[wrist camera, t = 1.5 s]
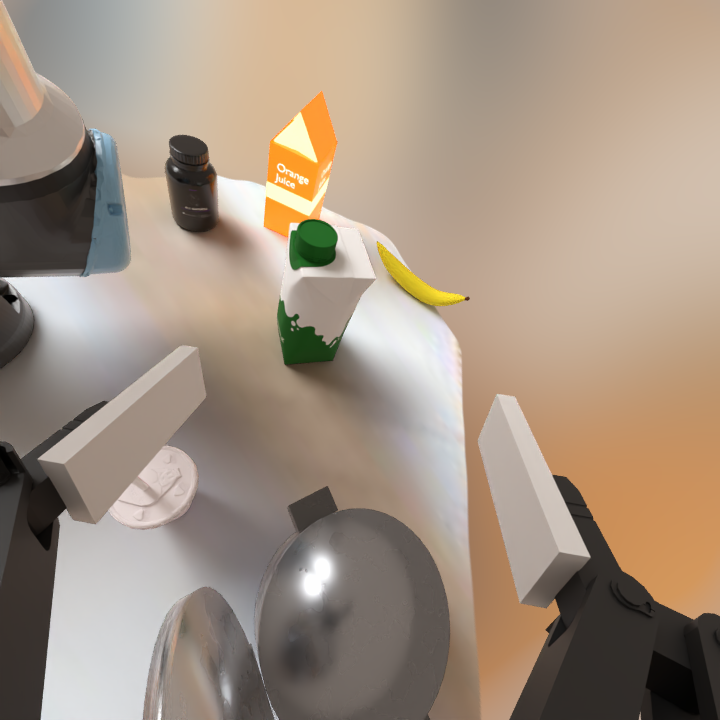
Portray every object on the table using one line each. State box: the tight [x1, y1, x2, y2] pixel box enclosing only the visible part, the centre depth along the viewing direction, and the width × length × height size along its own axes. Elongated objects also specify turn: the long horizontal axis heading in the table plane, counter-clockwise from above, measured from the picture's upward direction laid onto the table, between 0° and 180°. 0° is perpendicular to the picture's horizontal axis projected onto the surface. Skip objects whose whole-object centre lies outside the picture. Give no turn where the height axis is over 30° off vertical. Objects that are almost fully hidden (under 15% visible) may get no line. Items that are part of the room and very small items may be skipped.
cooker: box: [249, 486, 450, 720], centre depth 30 cm, size 18×21×9 cm
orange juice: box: [264, 91, 337, 237], centre depth 53 cm, size 8×9×20 cm
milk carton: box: [277, 219, 376, 364], centre depth 40 cm, size 9×9×20 cm
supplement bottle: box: [165, 135, 218, 232], centre depth 49 cm, size 7×7×12 cm
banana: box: [377, 241, 470, 306], centre depth 59 cm, size 3×19×6 cm, turn 58°
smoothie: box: [109, 445, 199, 530], centre depth 28 cm, size 6×6×14 cm
